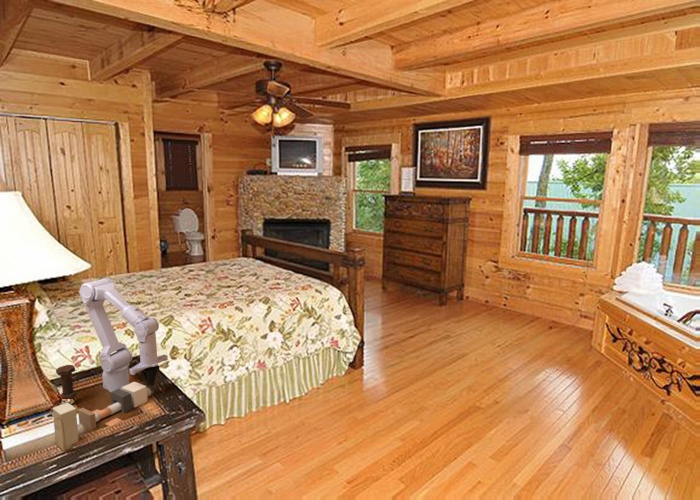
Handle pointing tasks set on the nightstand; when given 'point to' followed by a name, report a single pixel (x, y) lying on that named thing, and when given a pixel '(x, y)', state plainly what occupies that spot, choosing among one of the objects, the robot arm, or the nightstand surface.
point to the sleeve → (136, 393)
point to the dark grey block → (122, 399)
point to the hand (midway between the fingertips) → (150, 384)
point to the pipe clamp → (100, 414)
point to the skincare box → (65, 425)
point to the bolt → (67, 381)
